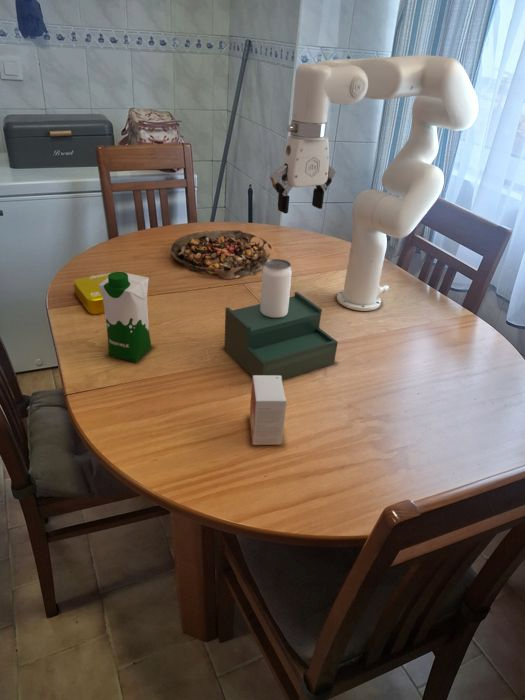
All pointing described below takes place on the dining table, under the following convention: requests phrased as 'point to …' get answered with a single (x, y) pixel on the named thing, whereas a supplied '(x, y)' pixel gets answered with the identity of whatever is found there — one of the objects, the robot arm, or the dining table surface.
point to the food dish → (220, 253)
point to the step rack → (279, 339)
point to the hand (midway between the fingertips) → (300, 209)
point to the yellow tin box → (91, 292)
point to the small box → (267, 409)
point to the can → (275, 288)
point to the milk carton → (126, 315)
